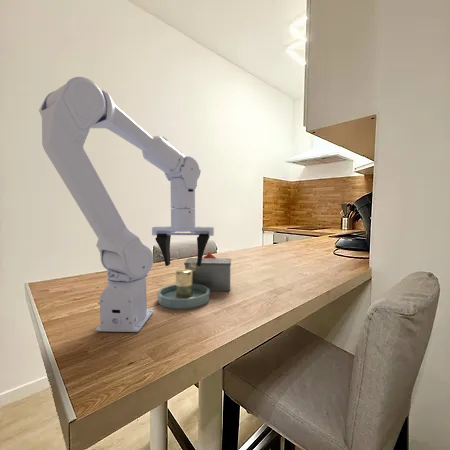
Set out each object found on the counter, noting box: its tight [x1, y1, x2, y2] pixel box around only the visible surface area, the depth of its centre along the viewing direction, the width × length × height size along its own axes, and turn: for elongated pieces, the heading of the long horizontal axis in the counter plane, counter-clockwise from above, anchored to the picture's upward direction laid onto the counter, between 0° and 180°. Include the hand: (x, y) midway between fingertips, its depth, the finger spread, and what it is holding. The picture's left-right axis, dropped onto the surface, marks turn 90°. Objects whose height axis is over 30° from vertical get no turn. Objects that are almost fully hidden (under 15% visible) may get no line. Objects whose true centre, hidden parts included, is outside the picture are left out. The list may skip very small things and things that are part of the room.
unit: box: [183, 257, 232, 292], centre depth 76 cm, size 6×12×8 cm, turn 88°
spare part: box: [175, 268, 193, 298], centre depth 67 cm, size 4×4×6 cm
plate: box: [156, 284, 211, 310], centre depth 67 cm, size 12×12×2 cm
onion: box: [202, 251, 216, 258], centre depth 88 cm, size 6×6×8 cm
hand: (183, 265), depth 66 cm, fingers open, 7 cm apart
